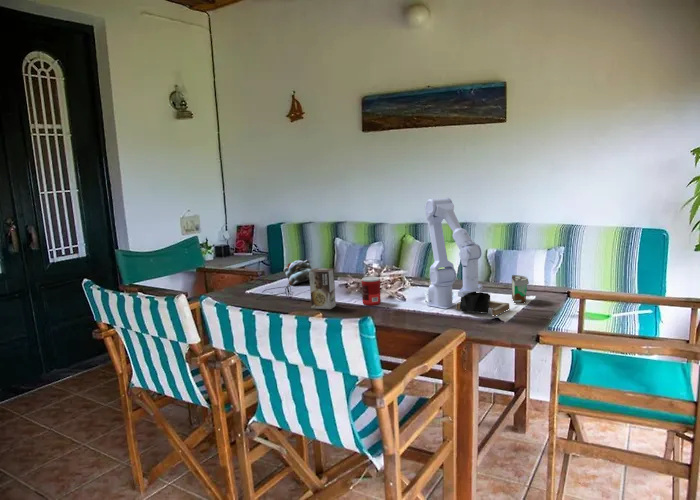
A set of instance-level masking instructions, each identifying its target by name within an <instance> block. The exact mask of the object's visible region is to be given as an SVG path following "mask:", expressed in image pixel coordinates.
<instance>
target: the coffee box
mask: <svg viewBox="0 0 700 500" xmlns="http://www.w3.org/2000/svg"><path fill="white" fill-rule="evenodd" d="M309 278H310V281H309V289H310V290H309V291H310V304H311V305H310V306H311V307H310V308H311V309H315V310H317V309H318V310H319V309H320V310H321V309H322V310H332V309H333V308H335V307H336V306H337V303H336V302H337V301H336V288H335V287H336V286H335V285H336V284H335V283H336V282H335V268H320V267H319V268H313V269H312V270H311V271H309Z"/></svg>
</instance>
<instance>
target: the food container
mask: <svg viewBox="0 0 700 500" xmlns="http://www.w3.org/2000/svg"><path fill="white" fill-rule="evenodd" d="M529 284H530V282H529V279H528V277H527V276H525V275H519V274H517V275H516V274H511V299H513V300H512V302H513V301H514V302H513V304H514V303H523V304H525V303H526V301H527V289H528V285H529ZM524 302H525V303H524Z"/></svg>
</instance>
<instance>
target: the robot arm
mask: <svg viewBox="0 0 700 500" xmlns="http://www.w3.org/2000/svg"><path fill="white" fill-rule="evenodd" d="M424 210H425V217H426V221H427V223H428V224H427V225H428V231H429V235H430V243H431V249H432V253H433V255H432V256H433V261H434V262H433V264H431V265H430V267H429V280H430V282H431V284H430V285H429V286H428V289H427V295H428V297H427V299H428V301H427V303H428V304H427V306H428V307H433V308H437V309H445V310H448V309H450V308H452V307H455V306H457V303H455V302H453V285H455V283H454V282H455V281H456V280H457V271H456V270H455V267H454V264H453V263H452V262H451V261H450V260H449V259H448V255H447V249H446V242H445V237H444V231H443V230H444V229H443V225H442V222H443V220H445V222H446V224H447V225H448V226H449V228H450V230H452V238H453V241H454V242H455V244H456V246H457V248H458V249H459V252H458V256H459V258H460V262H461V263H460V264H461V266H462V287H461V288H460V290H458V291H457V296H458V297H460V298H461V297H463V299H464V301H465V304H466V307H467V311H466V312H469V313H475V312H474V308H475V304H476V301H477V299H478V297H479V295H480V293H479V292H481V290H482V291H483V284H480V283H479V259H481V256H482V254H483V253H482V249H481V247H480V245H479V244H477V243H476V242H475V241H473V239H472V238H471V237H470V235H469V232H468V231H467V229H466V228H462V226H461V224H460V222H459V220H458V218H457V215H456V214H455V212H454V210H455V205H454V203H453V200H452V199H451V198H450V197H442V198H429V199H428V200H426V203H425V205H424ZM477 292H478V293H477Z"/></svg>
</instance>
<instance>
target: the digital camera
mask: <svg viewBox="0 0 700 500" xmlns="http://www.w3.org/2000/svg"><path fill="white" fill-rule="evenodd" d="M476 292H477V293H480V295H479V297H478V299H477V301H476V304H475V308H474V312H473V313H481V312H482V314H483V313H484V314H489V312H490V308H489V304H490V301H491V295H490V293H488V292H481V291H476ZM459 302H460V309H461V310H460V311H463V312H468V311H467V307H466V304H465V301H464V299H463V297H460V301H459Z"/></svg>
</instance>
